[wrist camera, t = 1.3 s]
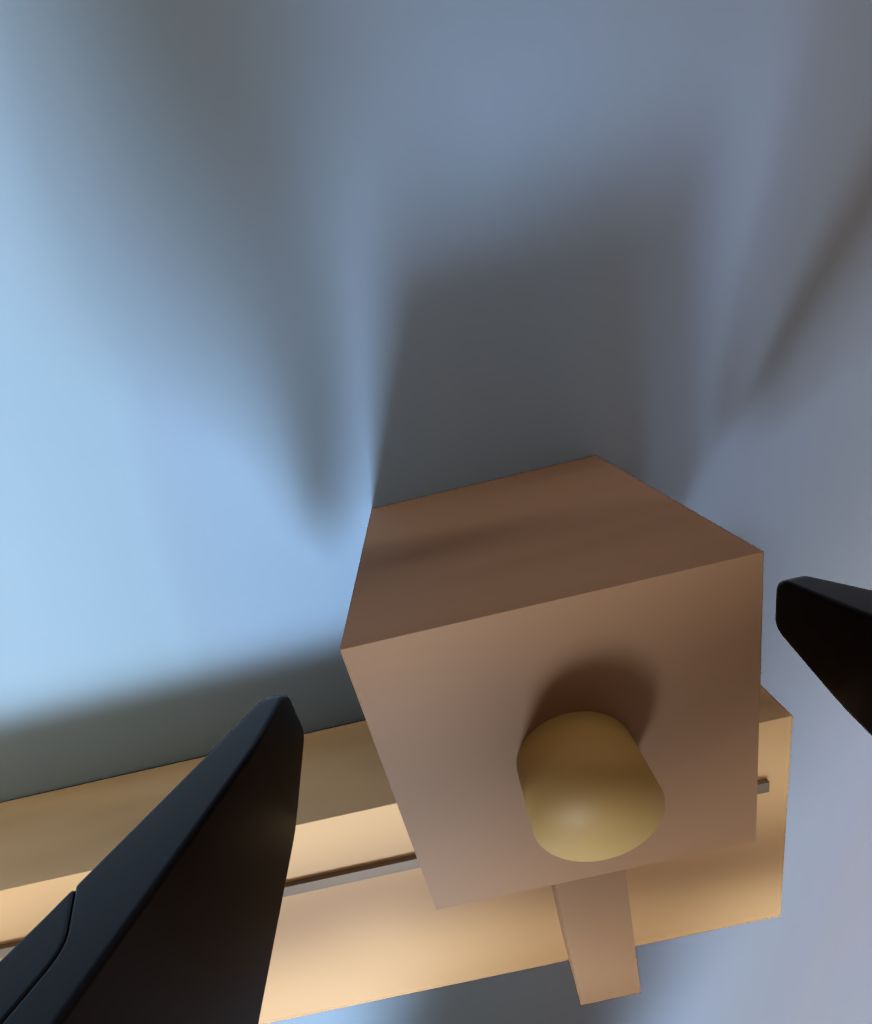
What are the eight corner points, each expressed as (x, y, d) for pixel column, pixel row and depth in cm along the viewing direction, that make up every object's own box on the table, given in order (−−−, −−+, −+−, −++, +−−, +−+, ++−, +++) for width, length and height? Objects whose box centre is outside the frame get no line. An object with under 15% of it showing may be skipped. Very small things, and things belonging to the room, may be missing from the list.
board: (717, 820, 14) (783, 920, 12) (-19, 979, 15) (-105, 1106, 12) (715, 641, 12) (796, 719, 9) (-163, 839, 12) (-305, 962, 10)
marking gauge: (629, 767, 13) (784, 1064, 8) (460, 804, 13) (498, 1122, 8) (594, 454, 10) (824, 586, 4) (372, 507, 10) (328, 699, 5)
